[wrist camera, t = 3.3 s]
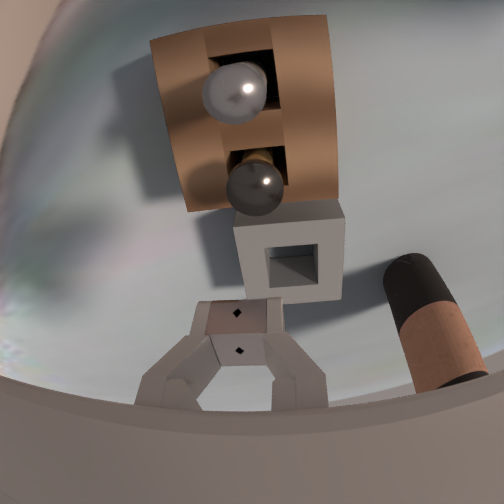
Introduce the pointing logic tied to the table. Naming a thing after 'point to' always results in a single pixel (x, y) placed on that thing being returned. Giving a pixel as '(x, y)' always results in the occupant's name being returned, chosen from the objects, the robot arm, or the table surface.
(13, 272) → the table surface
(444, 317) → the travel mug
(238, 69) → the grey tapered rounded rod
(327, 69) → the socket block
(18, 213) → the table surface
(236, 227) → the grey square ring block
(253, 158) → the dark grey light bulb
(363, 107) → the table surface
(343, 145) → the table surface
